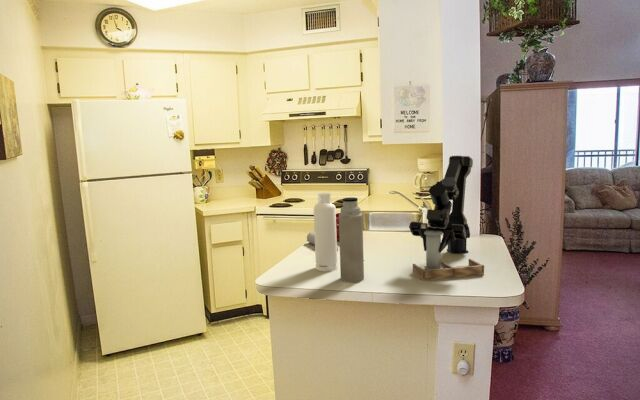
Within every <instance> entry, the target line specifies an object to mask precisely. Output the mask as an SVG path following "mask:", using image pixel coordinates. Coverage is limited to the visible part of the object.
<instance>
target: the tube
mask: <svg viewBox="0 0 640 400" xmlns="http://www.w3.org/2000/svg"><path fill="white" fill-rule="evenodd" d="M306 242H308V243H309V244H312V245H314V246H315V231H314V232H309V233H307V236H306ZM338 251H339V245H338V244H337V252H338Z"/></svg>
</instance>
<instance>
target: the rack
mask: <svg viewBox="0 0 640 400" xmlns="http://www.w3.org/2000/svg"><path fill="white" fill-rule="evenodd" d="M441 266H442V268H440V269H433V270H425V269H422V267H420V266H419V265H417V264H416V263H412V273H413V274H414V275H415V276H416V277H417V278H419V279H420V280H422V281H423V282H424V281H434V280H443V279H454V278H465V277H474V276H484V275H485V265H483V264H482V263H480V262H478V261H476V260H474V259H472V258H469V259H468V265H459V266H457V265H456V266H452V265H451V264H449V263H447V262H445V261H444V260H441Z"/></svg>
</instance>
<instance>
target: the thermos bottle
mask: <svg viewBox="0 0 640 400" xmlns="http://www.w3.org/2000/svg"><path fill="white" fill-rule="evenodd" d="M361 211H362V209H361V207H360V206H359V205H358V198H357V197H343V198H342V207H341V208H340V211H339V213H341V214H339V239H340V241H339V266H340V270H339V271H340V280H341V281H342V282H345V283H359V282H362V281H363V280H364V279H365V266H364V265H365V264H364V261H365V259H364V226H363V225H364V223H363V222H364V221H363V220H364V219H363V213H362V212H361Z"/></svg>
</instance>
